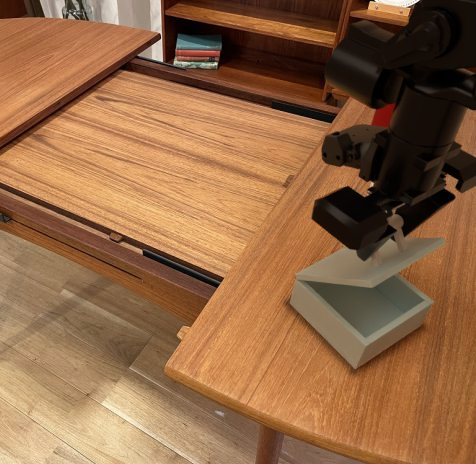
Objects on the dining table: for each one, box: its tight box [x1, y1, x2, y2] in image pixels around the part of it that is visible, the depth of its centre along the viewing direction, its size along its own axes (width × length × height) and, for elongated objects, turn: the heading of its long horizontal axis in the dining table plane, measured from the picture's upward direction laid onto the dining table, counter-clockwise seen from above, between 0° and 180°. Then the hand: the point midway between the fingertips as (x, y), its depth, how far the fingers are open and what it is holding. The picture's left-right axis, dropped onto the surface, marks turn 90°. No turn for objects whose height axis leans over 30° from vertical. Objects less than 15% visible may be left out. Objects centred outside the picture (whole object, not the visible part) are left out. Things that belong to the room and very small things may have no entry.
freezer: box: [289, 272, 435, 370], centre depth 64 cm, size 12×12×5 cm
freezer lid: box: [294, 213, 447, 288], centre depth 59 cm, size 12×12×5 cm
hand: (378, 249), depth 57 cm, fingers closed on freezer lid, 5 cm apart
